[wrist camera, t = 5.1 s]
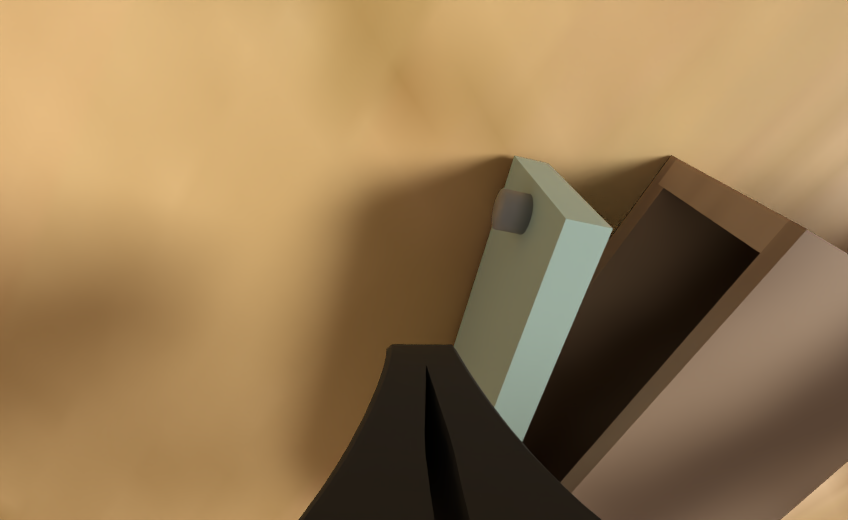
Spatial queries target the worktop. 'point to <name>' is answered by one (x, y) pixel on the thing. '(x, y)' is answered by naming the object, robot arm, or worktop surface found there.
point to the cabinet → (701, 362)
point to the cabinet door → (528, 288)
